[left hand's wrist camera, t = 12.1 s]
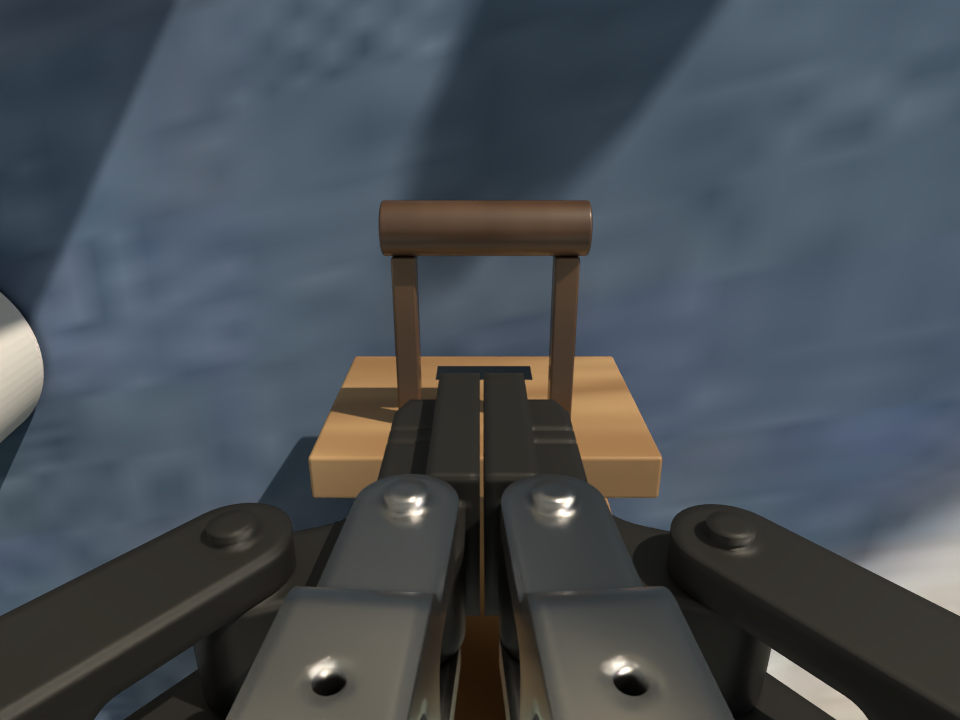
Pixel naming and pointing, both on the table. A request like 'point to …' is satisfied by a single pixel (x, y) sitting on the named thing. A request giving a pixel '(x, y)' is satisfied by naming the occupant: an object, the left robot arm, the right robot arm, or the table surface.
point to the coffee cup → (17, 369)
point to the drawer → (563, 377)
